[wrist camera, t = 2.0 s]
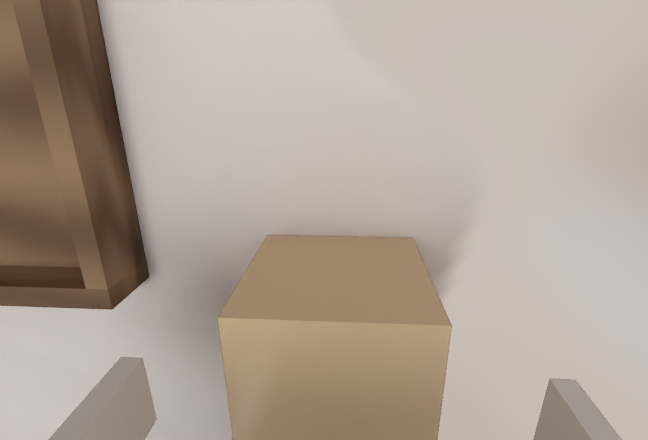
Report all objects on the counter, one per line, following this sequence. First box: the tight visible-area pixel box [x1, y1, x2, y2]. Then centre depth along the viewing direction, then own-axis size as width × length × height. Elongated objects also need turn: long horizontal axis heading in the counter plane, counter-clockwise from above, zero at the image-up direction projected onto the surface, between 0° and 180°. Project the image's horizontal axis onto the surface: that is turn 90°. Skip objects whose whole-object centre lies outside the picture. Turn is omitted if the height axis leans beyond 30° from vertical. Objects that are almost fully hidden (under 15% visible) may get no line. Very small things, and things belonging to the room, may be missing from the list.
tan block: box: [218, 235, 452, 440], centre depth 15 cm, size 7×7×7 cm
